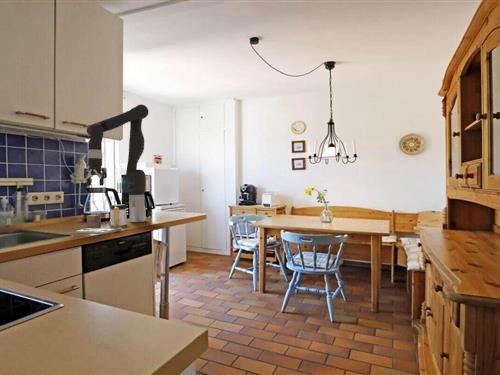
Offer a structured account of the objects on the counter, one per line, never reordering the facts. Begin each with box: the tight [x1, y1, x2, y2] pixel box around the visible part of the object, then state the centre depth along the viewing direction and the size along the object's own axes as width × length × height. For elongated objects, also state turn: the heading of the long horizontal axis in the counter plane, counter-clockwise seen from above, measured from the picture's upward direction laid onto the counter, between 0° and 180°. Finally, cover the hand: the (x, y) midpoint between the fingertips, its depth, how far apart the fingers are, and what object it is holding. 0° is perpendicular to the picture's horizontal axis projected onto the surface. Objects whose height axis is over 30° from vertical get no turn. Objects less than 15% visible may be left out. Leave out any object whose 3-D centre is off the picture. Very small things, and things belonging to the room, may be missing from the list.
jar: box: [109, 203, 128, 227], centre depth 190 cm, size 9×8×12 cm
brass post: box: [111, 207, 122, 231], centre depth 172 cm, size 4×4×12 cm
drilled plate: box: [75, 227, 115, 235], centre depth 165 cm, size 8×17×1 cm, turn 73°
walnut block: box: [86, 214, 102, 229], centre depth 181 cm, size 5×5×7 cm
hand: (95, 185), depth 186 cm, fingers open, 8 cm apart
